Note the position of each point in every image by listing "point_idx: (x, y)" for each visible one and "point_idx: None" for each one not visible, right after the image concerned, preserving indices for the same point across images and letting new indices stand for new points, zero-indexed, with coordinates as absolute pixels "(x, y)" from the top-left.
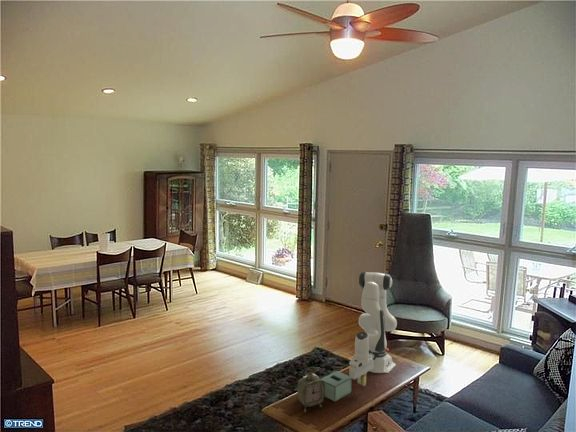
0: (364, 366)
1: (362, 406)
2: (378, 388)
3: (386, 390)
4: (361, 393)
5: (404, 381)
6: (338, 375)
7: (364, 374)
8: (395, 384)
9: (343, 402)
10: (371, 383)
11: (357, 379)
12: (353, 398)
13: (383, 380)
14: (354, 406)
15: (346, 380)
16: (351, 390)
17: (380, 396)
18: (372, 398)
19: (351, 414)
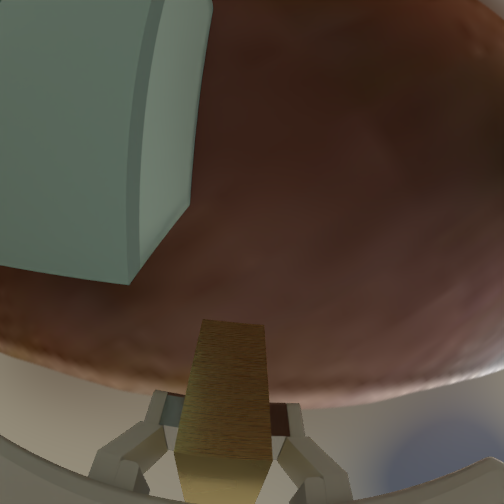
0: None
1: (95, 372)
2: (397, 340)
3: (390, 382)
4: (241, 290)
5: (495, 370)
6: (22, 30)
7: (298, 476)
8: (466, 367)
9: None
10: (445, 262)
11: (193, 365)
12: None
13: (494, 299)
14: (54, 335)
15: (2, 259)
16: (185, 209)
17: (294, 400)
18: None
19: (7, 350)
